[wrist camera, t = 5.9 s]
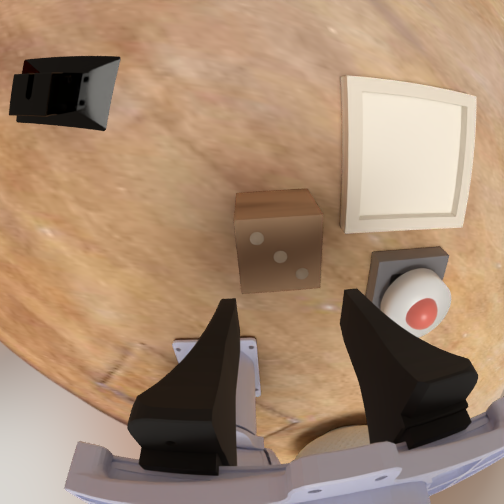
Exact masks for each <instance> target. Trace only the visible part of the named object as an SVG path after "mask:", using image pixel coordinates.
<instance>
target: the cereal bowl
mask: <svg viewBox="0 0 504 504" xmlns="http://www.w3.org/2000/svg"><path fill="white" fill-rule="evenodd" d="M368 444H370V441H369V433H368V426H367V425H360V426H359V425H351V426H344V427H340V428H337V429H334V430H331V431H329V432H327V433H325V434H324V435H323V436H320V437H319V438H317V439H315V440H313V441H312V442H310V443H309V444H308V445H306V446H305V447H304V448H303V449H302V450H301V451H300V452H299V453H298V455H297V456H296V458H295V459H298V458H300V457H303V456H307V455H312V454H317V453H324V452H331V451H337V450H343V449H348V448H354V447H359V446H363V445H368Z"/></svg>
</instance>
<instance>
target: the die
mask: <svg viewBox="0 0 504 504" xmlns="http://www.w3.org/2000/svg"><path fill="white" fill-rule="evenodd" d="M234 229H235V238H236V247H237V256H238V265H239V274H240V283H241V292H242V294H247V293H262V292H276V291H289V290H301V289H313V288H320V282H321V263H322V240H323V213H322V212H321V210H320V208H319V207H318V205H317V203H316V202H315V200H314V198H313V197H312V195H311V194H310V192H309V190H308V189H291V190H274V191H259V192H246V193H236V203H235V212H234Z"/></svg>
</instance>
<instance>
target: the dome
mask: <svg viewBox="0 0 504 504" xmlns="http://www.w3.org/2000/svg"><path fill="white" fill-rule="evenodd" d="M450 304H451V293H450V290H449V288H448V287H447V286H446V285H445V284H444V282H443V281H442V280H441V279H440V278H439V276H438V275H437V274H436V273H435V272H434V271H432V270H430V269H426V268H418V269H414V270H411V271H408V272H406V273H404V274H403V275H401V276H400V277H398V278H397V279H396V280H395V281H394V282H393V283H392V284H391V285H390V286H389V287H388V289H387V290H386V292H385V294H384V296H383V298H382V301H381V311H382V312H383V313H384V314H386V315H387V316H388V317H389V318H391V319H392V320H393V321H394V322H396V323H397V324H398V325H400V326H401V327H402V328H404V329H405V330H407V331H408V332H410V333H411V334H413V335H414V336H416V337H418V338H419V337H421V336H423V335H425V334H427V333H429V332H430V331H432V330H433V329H434V328H435V327H436V326H437V325H438V324H439V323H440V322H441V321H442V320H443V319H444V317H445V316H446V314H447V312H448V310H449V307H450Z"/></svg>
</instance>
